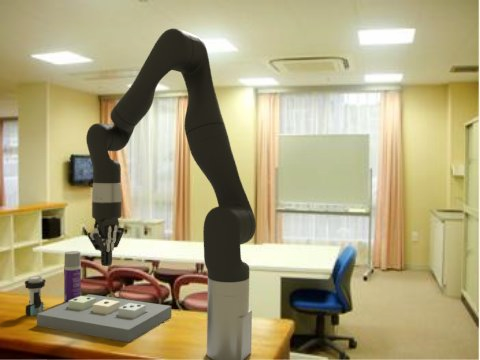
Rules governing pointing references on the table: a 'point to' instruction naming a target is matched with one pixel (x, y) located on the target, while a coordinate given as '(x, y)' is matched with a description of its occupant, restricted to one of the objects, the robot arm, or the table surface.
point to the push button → (34, 295)
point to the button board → (104, 320)
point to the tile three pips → (131, 310)
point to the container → (72, 275)
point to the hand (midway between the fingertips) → (106, 265)
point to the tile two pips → (81, 303)
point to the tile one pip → (106, 306)
